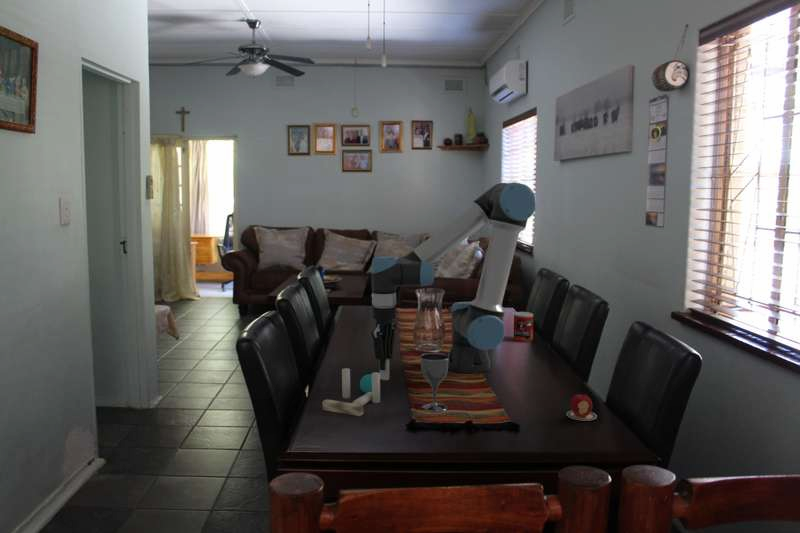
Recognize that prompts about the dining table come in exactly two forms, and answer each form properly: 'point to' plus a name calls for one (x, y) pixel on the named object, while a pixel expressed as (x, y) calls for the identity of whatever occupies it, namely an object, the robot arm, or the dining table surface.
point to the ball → (366, 383)
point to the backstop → (343, 407)
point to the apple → (581, 408)
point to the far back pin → (346, 383)
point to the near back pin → (375, 387)
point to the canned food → (523, 326)
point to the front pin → (363, 399)
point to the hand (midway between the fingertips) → (384, 379)
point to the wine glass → (434, 376)
